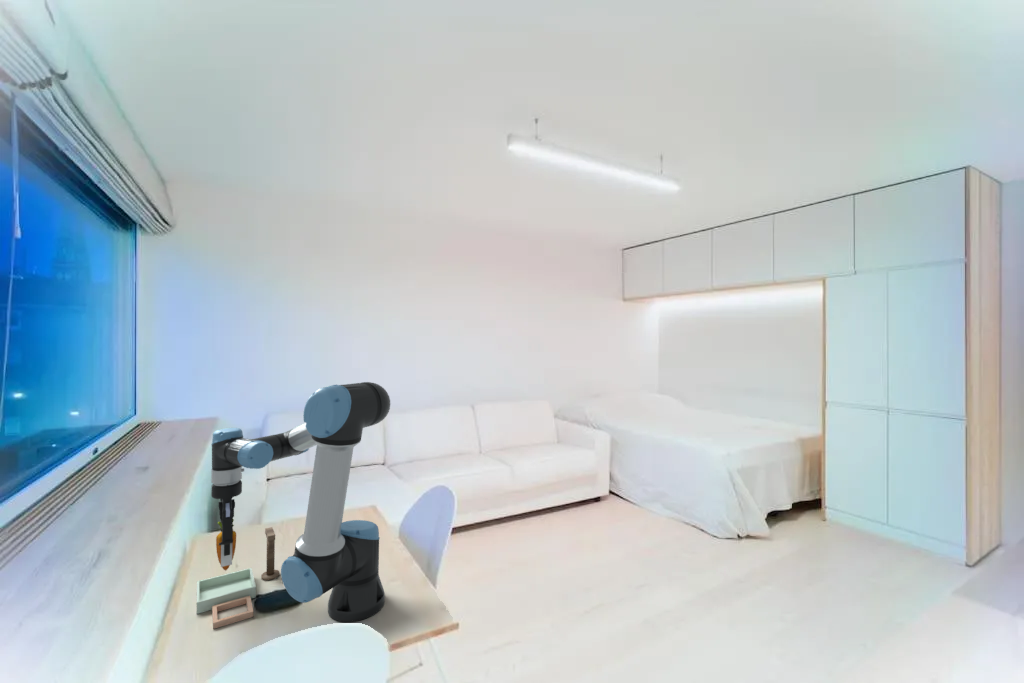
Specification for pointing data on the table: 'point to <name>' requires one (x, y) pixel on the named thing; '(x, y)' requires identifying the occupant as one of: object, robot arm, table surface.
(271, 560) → the t stake
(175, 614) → the table surface
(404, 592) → the table surface
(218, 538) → the carrot
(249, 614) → the holder ring
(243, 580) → the tray
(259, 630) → the table surface
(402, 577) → the table surface
